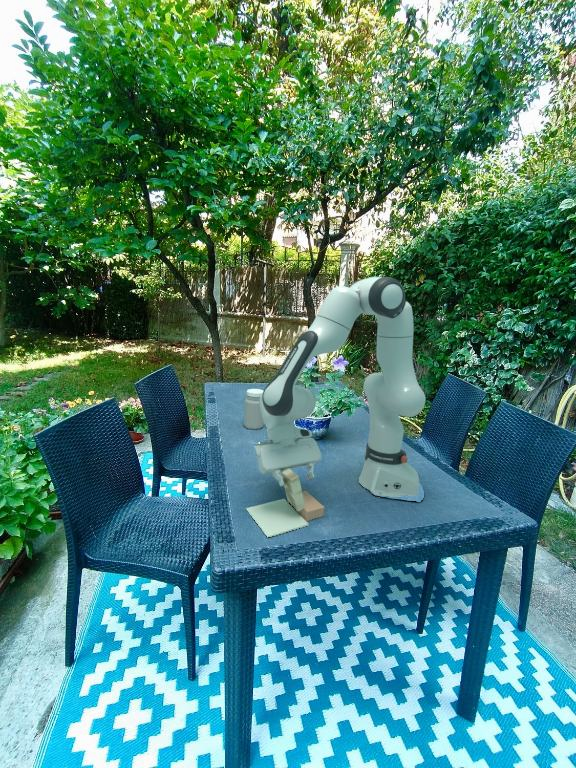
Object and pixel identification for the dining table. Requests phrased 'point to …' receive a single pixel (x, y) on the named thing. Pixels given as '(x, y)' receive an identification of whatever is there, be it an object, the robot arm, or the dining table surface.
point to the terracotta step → (311, 507)
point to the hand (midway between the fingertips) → (297, 482)
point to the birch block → (293, 489)
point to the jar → (253, 410)
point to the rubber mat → (276, 517)
